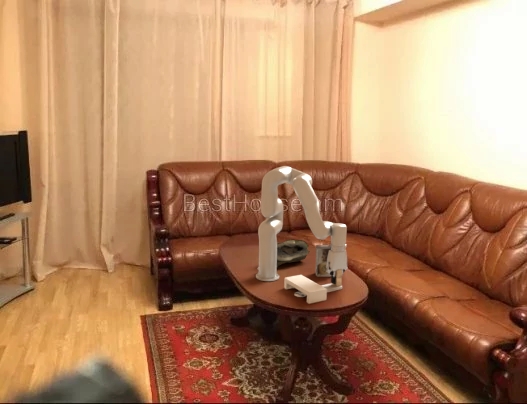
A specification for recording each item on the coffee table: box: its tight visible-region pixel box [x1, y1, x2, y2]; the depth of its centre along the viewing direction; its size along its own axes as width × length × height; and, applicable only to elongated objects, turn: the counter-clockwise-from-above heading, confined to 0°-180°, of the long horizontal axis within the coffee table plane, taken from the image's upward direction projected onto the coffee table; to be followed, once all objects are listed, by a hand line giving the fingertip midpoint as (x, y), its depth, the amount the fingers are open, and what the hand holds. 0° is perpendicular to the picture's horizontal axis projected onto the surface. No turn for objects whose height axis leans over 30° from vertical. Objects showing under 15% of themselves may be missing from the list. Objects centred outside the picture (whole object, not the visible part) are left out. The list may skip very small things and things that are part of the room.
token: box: [293, 291, 307, 298], centre depth 234 cm, size 6×6×1 cm
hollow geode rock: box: [277, 238, 310, 268], centre depth 282 cm, size 28×13×15 cm
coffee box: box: [314, 244, 331, 278], centre depth 261 cm, size 9×6×16 cm
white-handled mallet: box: [321, 269, 343, 293], centre depth 240 cm, size 6×18×10 cm, turn 120°
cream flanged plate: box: [283, 274, 328, 305], centre depth 235 cm, size 22×10×6 cm, turn 30°
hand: (336, 282), depth 244 cm, fingers closed on white-handled mallet, 3 cm apart
